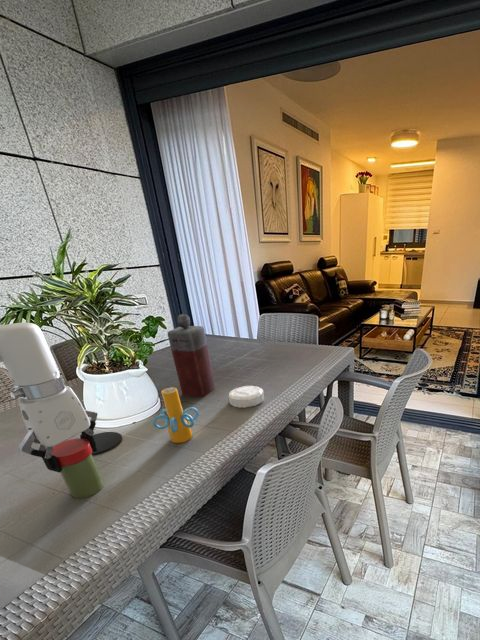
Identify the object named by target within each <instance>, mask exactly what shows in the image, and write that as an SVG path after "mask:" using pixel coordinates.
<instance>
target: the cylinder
mask: <svg viewBox="0 0 480 640" xmlns="http://www.w3.org/2000/svg"><path fill="white" fill-rule="evenodd" d="M160 392H161V395H162V400H163V402H164V407H165V408H162V409H160V411H159V414H158V415H157V416H155V417H154V418H153V421H152V423H153V426H154V427H155V428H156V429H158V430H164V429H166V428H167V431H168V434H169V438H170V441H171V442H172V443H174V444H182V443H185V442H188V441H190V440H191V439H192V438H193V432H192V428H194V425H195V420H197V419H198V418H199V414H200V413H199V410H198V409H197V408H196V407H193V406H190V407H187V408H185V409H183V406H182V402H181V398H180V395H179V391H178V388H177V387H167V388H163V389H162V390H161V391H160ZM189 411H193V412H195V415H194V417H192V416H191V415H190V414H188V412H189ZM164 413H166V414H167V415H165V414H164ZM159 419H162V421H164V422H165V425H161V426H160V425H158V424H157V421H158V420H159Z"/></svg>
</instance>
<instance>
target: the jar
mask: <svg viewBox="0 0 480 640" xmlns="http://www.w3.org/2000/svg"><path fill="white" fill-rule="evenodd" d="M61 468H62V471H61V472H60V475H61V477H62V479H63V481H64V483H65V485H66V487H67V488H66V489H68V492H69V493H70V497H72V498H74V499H84V498H85V499H86V498H88V497H91V496H93V495H96V494H97V493H98V492H100V491H102V489H103V488H104V485H105V482H104V479H103V478H102V475H101V472H100V470H99V467H98V466H97V463H96V461H95V458H94V455H92V454H91V455H90V456H89V457H87V458H86V459H84V460H82V461H80V462H78V463H75V464H72V465H67V466H61Z"/></svg>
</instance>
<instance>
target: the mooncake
mask: <svg viewBox="0 0 480 640" xmlns="http://www.w3.org/2000/svg"><path fill="white" fill-rule="evenodd" d="M264 394H265V393H264V389H262V387H259V386H254V385H243V386H239V387H236V388H234V389H232V390H230V391H229V393H228V397H227V398H228V401H229V404H230V405H231V407H235V408H239V409H242V408H243V409H246V408H252V407H257V406H258V405H260V404H261V403H263V402H264V400H265V395H264Z"/></svg>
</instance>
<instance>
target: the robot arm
mask: <svg viewBox="0 0 480 640" xmlns="http://www.w3.org/2000/svg"><path fill="white" fill-rule="evenodd" d="M0 363H3V365H4V367H5V368H6V371H7V373H8V376H9V377H10V379H11V381H12V383H13V388H14V390H13V391H10V392H9V395H10V397H11V398H12V399H14V400H15V399H17V398H18V399H19V400H18V405H19V411H20V414H21V417H22V418H21V419H22V420H23V424H24V426H25V429H26V431H27V433H26V434H25V436H24V438H23V439H22V440H21V442H20V443H19V445H18V447H17V450H18V451H20V452H22V453H25V454H28V455H30V456H34V457H38V458H41V459H42V461H43V463H44V465H45V467H46V469H48V470H49V471H52V472H55V473H60V472H61V471H62V468H61V466H60V464H59V462H58V460H57V458H56V456H54V455H52V451H53V447H54V446H56V445H58V444H60V443H62V442H64V441H67V440H71V439H73V438H74V437H75V436H77V435H79V438H83V439H87V440H88V441H89V443H90V445H91V448H92V452H96V451H97V448H96V443H95V441H94V438H93V436H92V435H95V431H94V430H95V428H96V425H97V422H96V421H97V418H98V412H96V411H91V410H87V409H85V408H84V406H83V404H82V402H81V401H80V399H79V398H78V396H77V395H76V393H75V392H74V390H73V389H72V388H71V387H70V386H69V385H65V383H64V379H63V378H62V376H61V374H60V371H59V368H58V366H57V363H56V361H55V359H54V356H53V354H52V351H51V350H50V347H49V344H48V343H47V340H46V338H45V335H44V332H43V331H42V329H41V328H40V326H38V325H37V324H35V323H34V322H15V323H14V322H13V323H9V324H0ZM33 444H38V446H37V449H35V448H33V447H32V445H33ZM60 474H61V473H60Z"/></svg>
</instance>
